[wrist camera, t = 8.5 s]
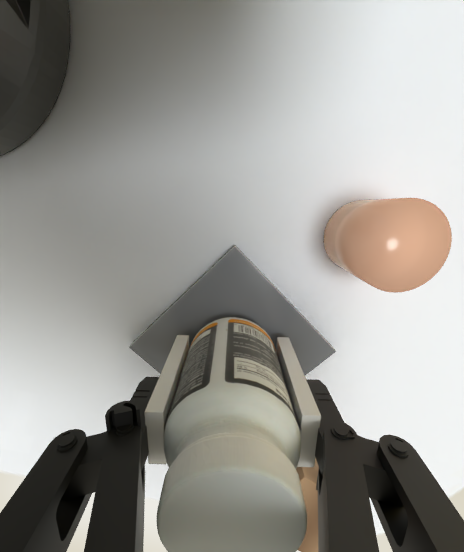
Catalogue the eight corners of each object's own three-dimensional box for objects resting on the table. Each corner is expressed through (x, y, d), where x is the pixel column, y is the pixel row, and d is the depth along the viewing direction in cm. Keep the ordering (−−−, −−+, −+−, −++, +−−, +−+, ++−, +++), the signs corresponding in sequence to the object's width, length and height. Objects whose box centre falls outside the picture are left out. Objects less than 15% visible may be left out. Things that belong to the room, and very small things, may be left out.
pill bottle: (209, 399, 19) (182, 607, 9) (176, 329, 17) (103, 487, 8) (286, 374, 18) (346, 569, 8) (258, 300, 17) (292, 433, 7)
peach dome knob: (309, 236, 17) (335, 247, 12) (364, 184, 16) (414, 176, 11) (353, 283, 17) (392, 309, 13) (408, 236, 17) (470, 247, 12)
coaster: (132, 342, 19) (129, 347, 18) (234, 245, 17) (235, 246, 16) (230, 426, 20) (230, 432, 20) (332, 346, 19) (335, 351, 18)
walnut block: (248, 452, 21) (252, 525, 16) (287, 411, 20) (304, 476, 15) (295, 480, 22) (313, 558, 17) (336, 442, 21) (366, 513, 16)
